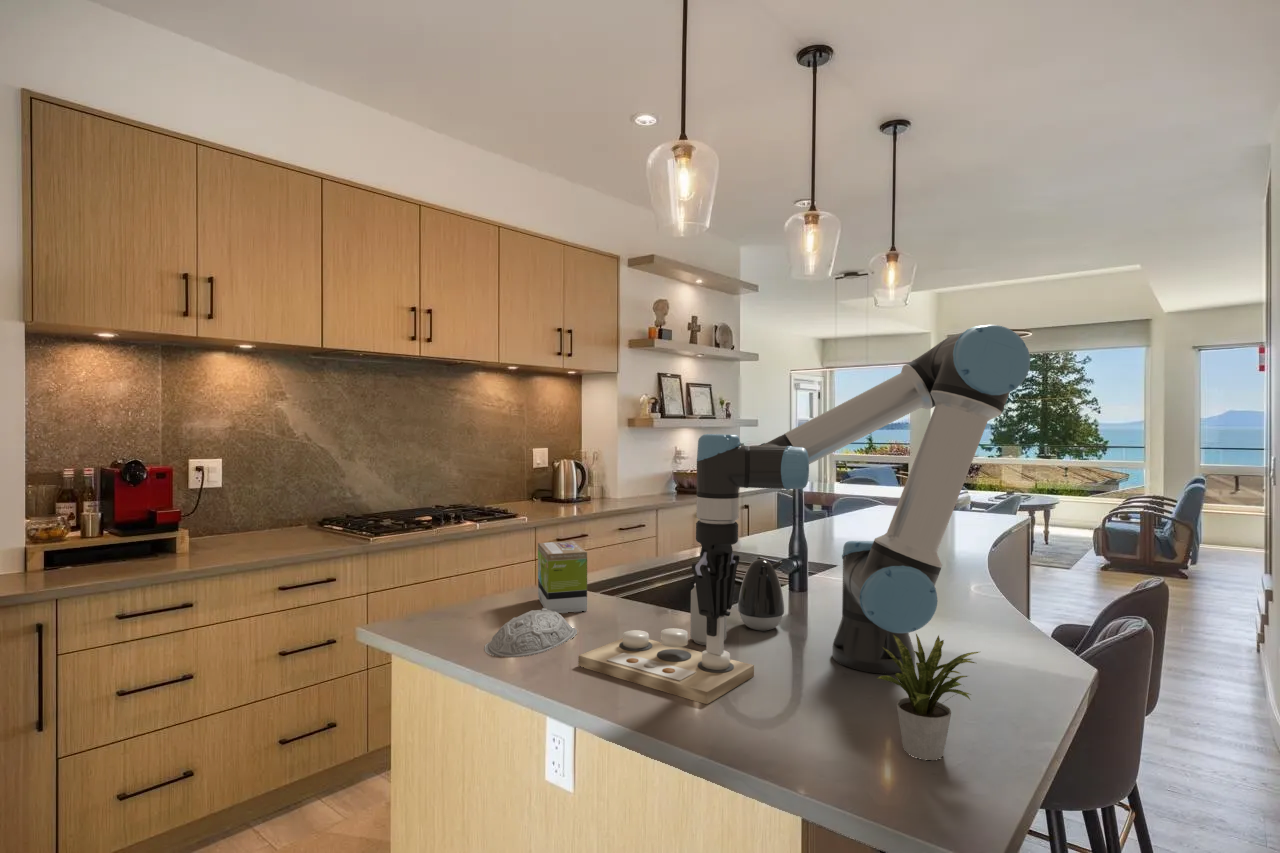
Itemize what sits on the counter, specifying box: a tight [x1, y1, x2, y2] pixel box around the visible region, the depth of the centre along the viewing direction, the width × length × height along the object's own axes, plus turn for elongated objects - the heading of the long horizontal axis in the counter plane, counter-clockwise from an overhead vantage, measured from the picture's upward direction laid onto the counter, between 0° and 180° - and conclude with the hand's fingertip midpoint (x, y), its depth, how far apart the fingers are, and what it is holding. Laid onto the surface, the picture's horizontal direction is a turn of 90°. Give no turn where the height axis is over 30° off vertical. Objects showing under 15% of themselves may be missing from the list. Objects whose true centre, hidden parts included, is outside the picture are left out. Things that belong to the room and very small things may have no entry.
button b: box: [660, 627, 689, 648], centre depth 129 cm, size 5×5×2 cm
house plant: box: [877, 633, 980, 761], centre depth 95 cm, size 14×14×16 cm
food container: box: [483, 607, 578, 658], centre depth 145 cm, size 16×25×7 cm, turn 157°
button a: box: [701, 649, 731, 670], centre depth 124 cm, size 5×5×2 cm
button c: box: [622, 629, 650, 649], centre depth 135 cm, size 5×5×2 cm
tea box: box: [537, 540, 588, 614], centre depth 171 cm, size 15×10×15 cm
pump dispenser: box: [737, 558, 785, 632], centre depth 155 cm, size 10×10×15 cm
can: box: [689, 582, 728, 646], centre depth 144 cm, size 8×8×12 cm
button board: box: [577, 637, 755, 705], centre depth 127 cm, size 28×16×2 cm, turn 53°
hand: (714, 652), depth 124 cm, fingers closed
